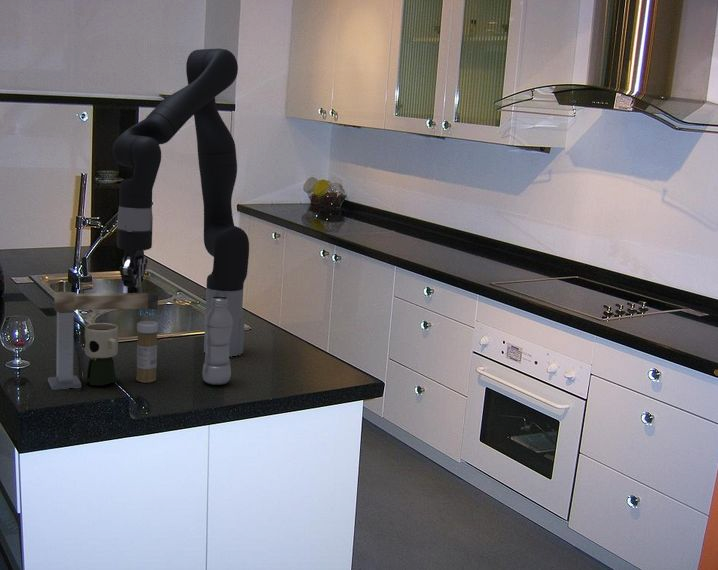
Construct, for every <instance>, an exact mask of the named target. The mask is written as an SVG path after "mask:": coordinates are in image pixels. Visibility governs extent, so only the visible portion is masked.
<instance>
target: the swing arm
mask: <svg viewBox="0 0 718 570" xmlns="http://www.w3.org/2000/svg"><path fill="white" fill-rule="evenodd" d="M53 298H54V307H53V308H54V309H53V311H55V312H57V311H58V312H72V311H73V312H75V311H83V310H84V311H85V310H86V311H87V310H88V311H90V310H92V311H93V310H140V309H147V310H158V309H159V308H158V307H159V306H158V305H159V294H158V293H157V292H156V291H146V292H139V293H127V292H120V293H119V292H111V293H110V292H104V293H103V292H102V293H100V292H99V293H96V292H95V293H77V292H74V291H73V292H72V291H57V292H54V297H53Z"/></svg>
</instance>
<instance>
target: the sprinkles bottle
mask: <svg viewBox="0 0 718 570" xmlns="http://www.w3.org/2000/svg"><path fill="white" fill-rule="evenodd" d="M136 331H137V333H136V334H137V344H136V377H135V379H136V381H138V382H139V383H145V384H146V383H149V384H150V383H153V382H156V380H157V362H158V331H159V323H158V322H157V321H154V320H141V321H138V322H137V323H136Z"/></svg>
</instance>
